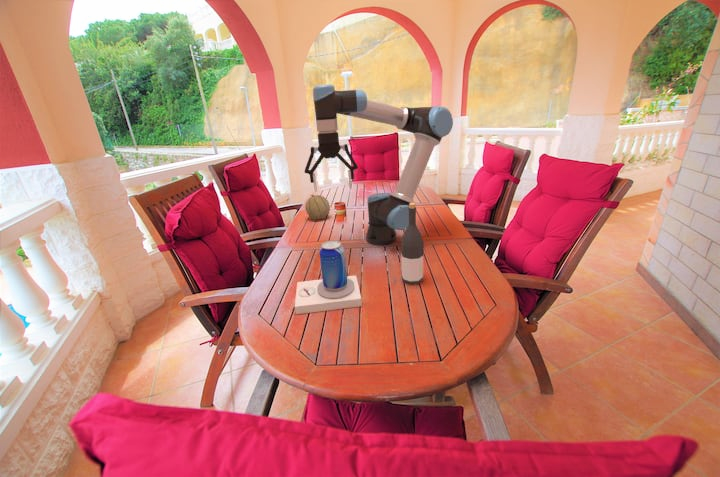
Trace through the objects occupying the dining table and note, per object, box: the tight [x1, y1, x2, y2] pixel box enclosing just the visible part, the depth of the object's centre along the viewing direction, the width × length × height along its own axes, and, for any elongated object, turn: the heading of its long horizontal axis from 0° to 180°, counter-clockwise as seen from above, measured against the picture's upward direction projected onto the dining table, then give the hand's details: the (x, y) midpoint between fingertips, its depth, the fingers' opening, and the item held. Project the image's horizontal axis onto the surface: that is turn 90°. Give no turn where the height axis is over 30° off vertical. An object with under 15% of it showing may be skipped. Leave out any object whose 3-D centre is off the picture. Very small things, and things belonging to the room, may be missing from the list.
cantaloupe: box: [305, 194, 331, 220], centre depth 191 cm, size 15×15×15 cm
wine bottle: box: [400, 202, 425, 286], centre depth 114 cm, size 8×8×30 cm
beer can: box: [319, 240, 348, 291], centre depth 108 cm, size 8×8×16 cm
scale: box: [294, 275, 363, 315], centre depth 111 cm, size 22×16×4 cm
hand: (333, 189), depth 123 cm, fingers open, 13 cm apart
